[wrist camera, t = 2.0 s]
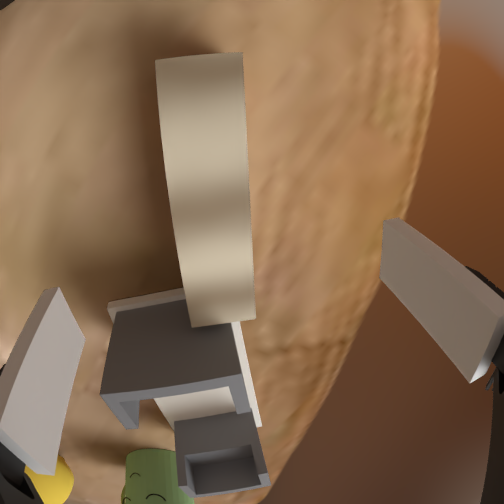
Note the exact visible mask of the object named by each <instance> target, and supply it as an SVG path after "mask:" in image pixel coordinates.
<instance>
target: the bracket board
mask: <svg viewBox="0 0 504 504" xmlns="http://www.w3.org/2000/svg"><path fill="white" fill-rule="evenodd" d="M107 311H108V313H109V315H110V317H111V319H112V321H113V329H112V333H111V338H110V342H109V347H108V352H107V357H106V362H105V367H104V373H103V378H102V384H101V390H100V396H101V397H102V399H103V400H104V401H105V403H106V404H107V405H108V407H109V408H110V409H111V411H112V412H113V413H114V415H115V416H116V417H117V418H118V420H119V421H120V422H121V423H122V425H123V426H124V427H125V428H126V429H138V424H139V402H140V400H145V399H153V398H154V400H155V402H156V403H157V405H158V407H159V408H160V410H161V412H162V413H163V415H164V416H165V418H166V420H167V421H168V423H169V424H170V426H171V427H172V429H173V430H174V433H175V450H176V465H177V478H178V487H179V488H180V489H181V490H182V491H183V492H184V493H185V494H187V495H188V496H189V497H190V498H195V497H204V496H212V495H220V494H227V493H233V492H239V491H245V490H250V489H255V488H260V487H265V486H270V485H271V483H270V479H269V475H268V471H267V468H266V464H265V460H264V456H263V452H262V448H261V444H260V440H259V436H258V432H257V428H256V427H261V426H262V424H261V419H260V415H259V410H258V406H257V401H256V397H255V392H254V387H253V383H252V378H251V374H250V369H249V364H248V360H247V355H246V350H245V345H244V340H243V336H242V331H241V326H240V321H238V322H231V323H224V324H216V325H209V326H201V327H194V328H192V326H191V321H190V317H189V312H188V307H187V302H186V296H185V291H184V287H183V288H178V289H173V290H168V291H163V292H158V293H153V294H147V295H142V296H137V297H132V298H127V299H121V300H116V301H111V302H108V306H107Z"/></svg>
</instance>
